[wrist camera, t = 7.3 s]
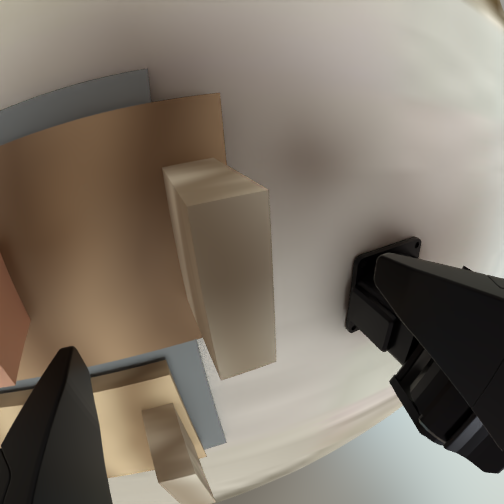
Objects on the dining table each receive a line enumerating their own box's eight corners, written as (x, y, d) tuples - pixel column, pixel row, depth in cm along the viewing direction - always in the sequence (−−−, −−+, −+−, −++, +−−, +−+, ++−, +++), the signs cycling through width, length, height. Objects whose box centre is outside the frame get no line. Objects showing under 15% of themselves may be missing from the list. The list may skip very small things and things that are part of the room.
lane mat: (146, 70, 11) (147, 68, 10) (224, 438, 24) (226, 442, 23) (-145, 205, 5) (-149, 208, 4) (31, 473, 18) (31, 477, 17)
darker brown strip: (211, 94, 12) (281, 85, 6) (236, 311, 17) (288, 396, 12) (-116, 209, 6) (-181, 265, 1) (-35, 375, 11) (-54, 455, 6)
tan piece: (165, 359, 16) (194, 452, 11) (202, 444, 22) (228, 507, 17) (-55, 399, 11) (-70, 469, 6) (22, 473, 16) (26, 530, 11)
